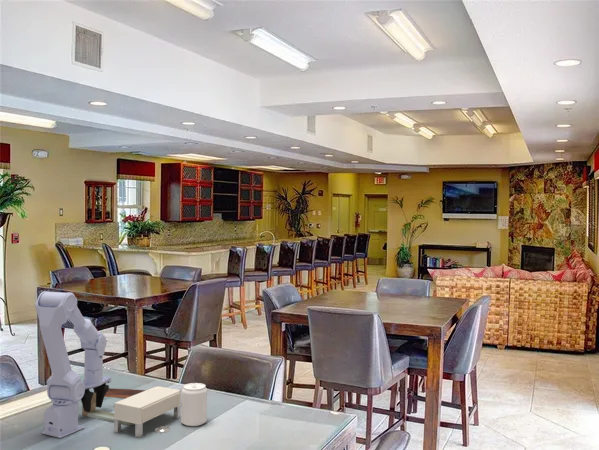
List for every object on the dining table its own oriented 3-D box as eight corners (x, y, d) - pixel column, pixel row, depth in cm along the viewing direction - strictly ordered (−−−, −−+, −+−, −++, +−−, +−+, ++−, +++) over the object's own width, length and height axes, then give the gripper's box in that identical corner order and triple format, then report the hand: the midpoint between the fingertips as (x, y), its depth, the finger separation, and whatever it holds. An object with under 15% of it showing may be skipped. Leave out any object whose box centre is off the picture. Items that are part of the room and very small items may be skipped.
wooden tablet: (89, 392, 206) (104, 382, 216) (89, 398, 207) (105, 387, 216) (154, 399, 200) (167, 388, 210) (154, 405, 201) (167, 394, 210)
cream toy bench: (140, 438, 167) (140, 408, 167) (113, 431, 171) (114, 402, 171) (181, 417, 185) (181, 390, 185) (156, 412, 189) (157, 386, 189)
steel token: (162, 435, 170) (162, 432, 170) (152, 432, 173) (152, 429, 173) (172, 430, 174) (172, 427, 174) (162, 427, 176) (162, 425, 176)
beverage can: (182, 428, 175) (182, 390, 175) (180, 419, 183) (181, 383, 183) (207, 426, 177) (208, 388, 177) (205, 417, 185) (205, 381, 185)
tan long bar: (129, 426, 176) (129, 404, 176) (81, 415, 185) (81, 394, 185) (138, 422, 180) (138, 400, 180) (90, 411, 189) (90, 391, 189)
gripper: (100, 362, 194) (100, 401, 194) (67, 372, 181) (66, 413, 181) (116, 365, 191) (115, 404, 191) (83, 375, 178) (82, 417, 178)
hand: (92, 409), depth 186 cm, fingers open, 4 cm apart
